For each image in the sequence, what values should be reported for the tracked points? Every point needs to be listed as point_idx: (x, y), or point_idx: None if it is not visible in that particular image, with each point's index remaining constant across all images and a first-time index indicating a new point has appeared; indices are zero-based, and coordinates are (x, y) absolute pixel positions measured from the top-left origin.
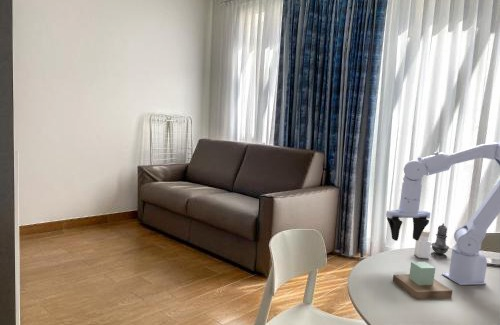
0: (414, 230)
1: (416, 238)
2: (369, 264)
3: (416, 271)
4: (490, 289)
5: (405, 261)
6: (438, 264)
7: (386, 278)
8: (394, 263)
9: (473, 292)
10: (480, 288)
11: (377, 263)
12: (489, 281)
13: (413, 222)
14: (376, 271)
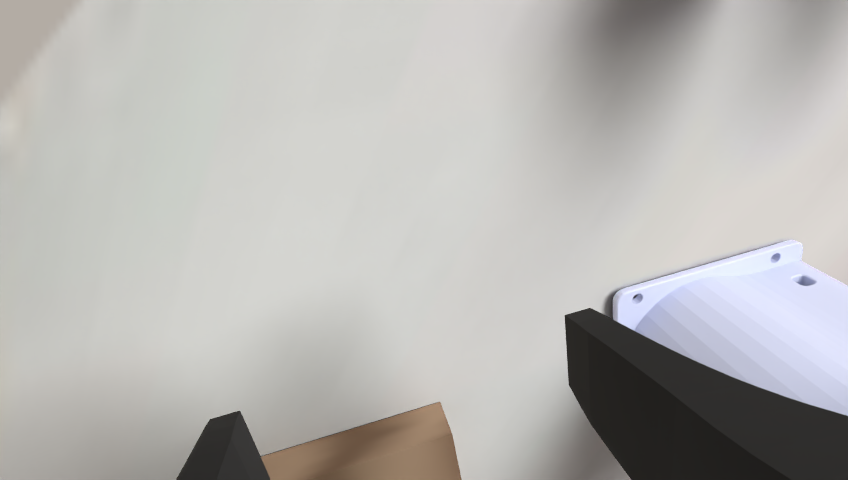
0: (645, 403)
1: (579, 395)
2: (42, 213)
3: None
4: None
5: (467, 59)
6: (731, 85)
7: (158, 449)
8: (328, 135)
9: None
10: None
11: (140, 169)
12: None
13: (762, 472)
14: (95, 354)
